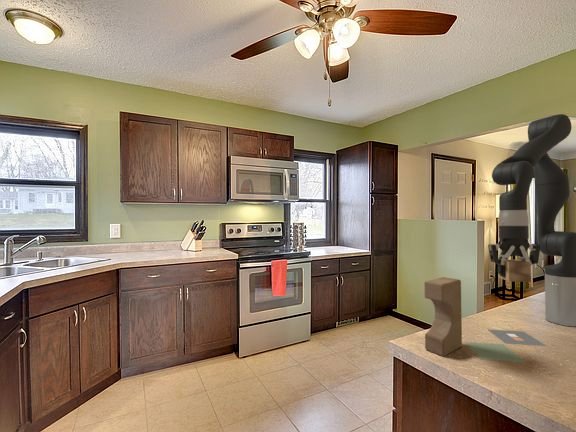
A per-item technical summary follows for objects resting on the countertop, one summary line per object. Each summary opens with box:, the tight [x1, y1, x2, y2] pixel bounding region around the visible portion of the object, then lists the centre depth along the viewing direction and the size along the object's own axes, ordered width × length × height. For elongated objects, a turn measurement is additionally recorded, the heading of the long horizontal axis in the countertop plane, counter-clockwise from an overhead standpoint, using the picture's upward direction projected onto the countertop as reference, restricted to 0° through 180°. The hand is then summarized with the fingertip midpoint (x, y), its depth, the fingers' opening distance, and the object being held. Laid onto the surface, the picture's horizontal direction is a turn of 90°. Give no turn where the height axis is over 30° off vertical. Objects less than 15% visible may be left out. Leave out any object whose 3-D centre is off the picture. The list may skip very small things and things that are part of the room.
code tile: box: [487, 329, 547, 347], centre depth 91 cm, size 11×11×1 cm
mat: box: [463, 341, 528, 363], centre depth 81 cm, size 11×11×1 cm
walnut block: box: [498, 259, 532, 283], centre depth 91 cm, size 6×6×6 cm
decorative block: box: [423, 276, 463, 357], centre depth 84 cm, size 11×6×20 cm, turn 124°
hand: (514, 276), depth 91 cm, fingers closed on walnut block, 6 cm apart
